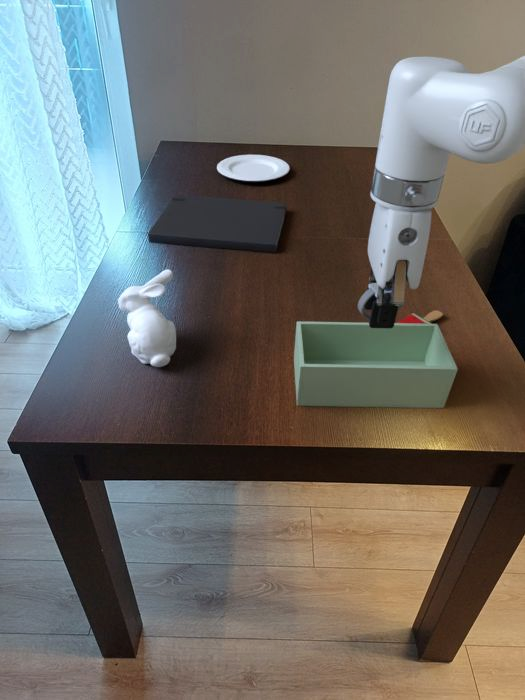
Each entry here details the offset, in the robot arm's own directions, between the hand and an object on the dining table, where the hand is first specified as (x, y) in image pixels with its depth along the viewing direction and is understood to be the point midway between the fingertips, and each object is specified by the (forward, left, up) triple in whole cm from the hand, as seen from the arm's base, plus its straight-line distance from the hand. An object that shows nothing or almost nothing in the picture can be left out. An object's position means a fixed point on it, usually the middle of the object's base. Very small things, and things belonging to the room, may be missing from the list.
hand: (378, 316), depth 67 cm
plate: (+88, -12, -13) cm, 89 cm away
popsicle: (+9, -14, -13) cm, 21 cm away
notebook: (+58, +6, -13) cm, 59 cm away
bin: (0, 0, -12) cm, 12 cm away
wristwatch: (0, 0, 0) cm, 0 cm away
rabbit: (+19, +29, -13) cm, 37 cm away
